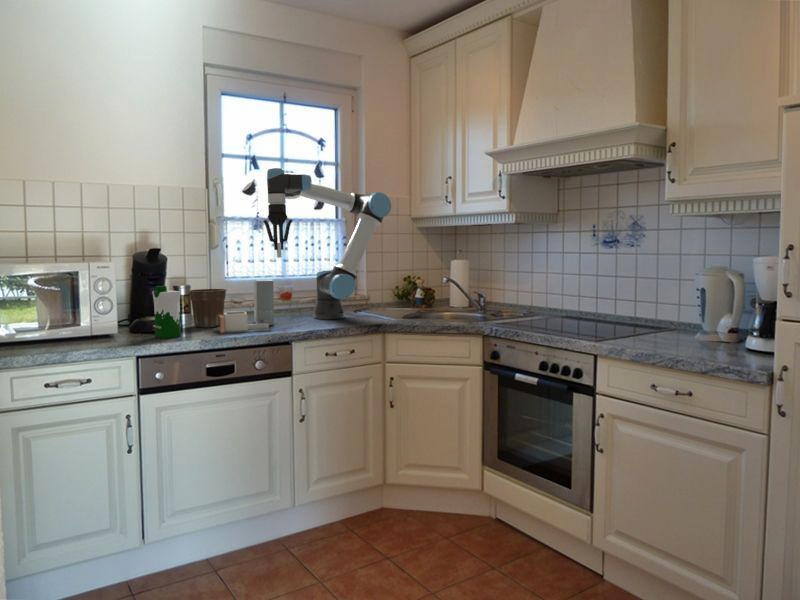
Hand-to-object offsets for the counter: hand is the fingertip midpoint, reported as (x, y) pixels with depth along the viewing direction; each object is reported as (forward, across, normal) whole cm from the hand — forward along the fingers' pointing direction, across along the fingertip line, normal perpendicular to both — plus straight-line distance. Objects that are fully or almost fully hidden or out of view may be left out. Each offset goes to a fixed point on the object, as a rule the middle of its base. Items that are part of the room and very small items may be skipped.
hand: (279, 257), depth 272 cm
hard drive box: (+30, +7, -6) cm, 32 cm away
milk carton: (+29, +49, +18) cm, 60 cm away
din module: (+29, +22, +12) cm, 38 cm away
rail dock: (+30, +19, +12) cm, 37 cm away
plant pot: (+30, +31, -8) cm, 44 cm away
